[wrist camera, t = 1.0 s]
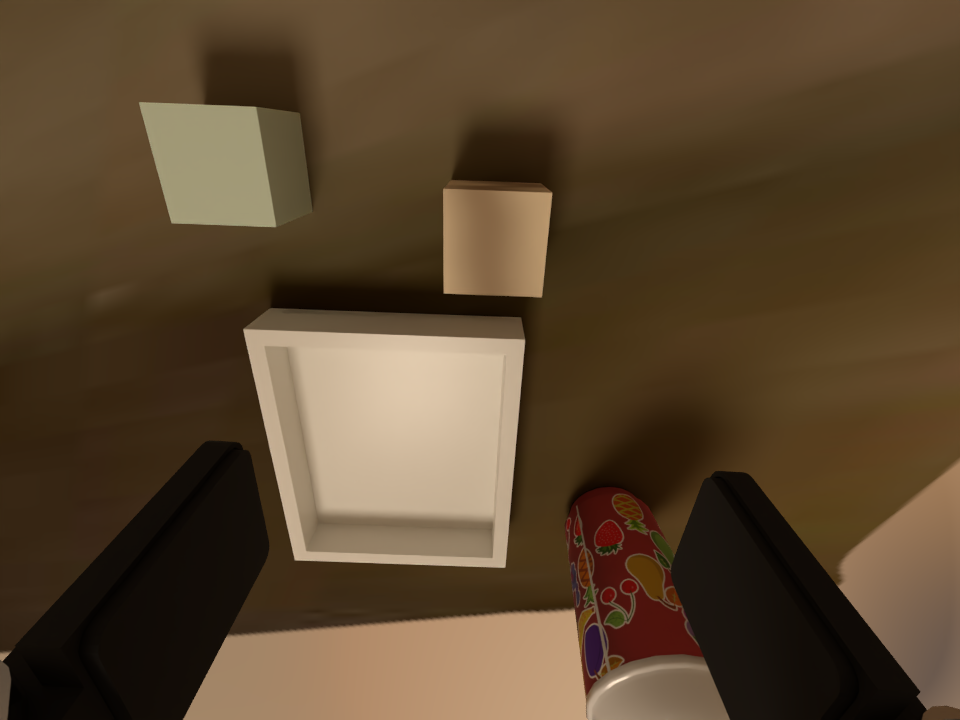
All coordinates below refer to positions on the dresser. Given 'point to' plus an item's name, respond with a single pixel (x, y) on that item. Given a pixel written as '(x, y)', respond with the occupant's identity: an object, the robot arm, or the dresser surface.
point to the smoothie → (632, 616)
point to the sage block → (229, 163)
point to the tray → (391, 432)
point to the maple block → (495, 237)
